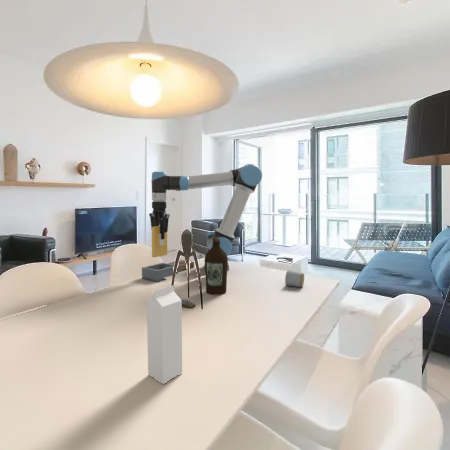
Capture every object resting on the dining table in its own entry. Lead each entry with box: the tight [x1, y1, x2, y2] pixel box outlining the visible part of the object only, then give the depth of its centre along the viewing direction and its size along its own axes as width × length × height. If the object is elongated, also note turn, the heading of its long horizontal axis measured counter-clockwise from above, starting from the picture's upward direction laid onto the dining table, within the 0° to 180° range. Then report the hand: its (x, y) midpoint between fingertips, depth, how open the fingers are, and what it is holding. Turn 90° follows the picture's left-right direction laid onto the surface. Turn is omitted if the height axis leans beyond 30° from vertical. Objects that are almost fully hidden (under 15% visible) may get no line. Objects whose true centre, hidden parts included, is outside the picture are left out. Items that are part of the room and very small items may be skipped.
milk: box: [146, 285, 183, 383], centre depth 74 cm, size 6×6×22 cm
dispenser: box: [166, 259, 195, 273], centre depth 178 cm, size 10×14×6 cm
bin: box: [141, 262, 179, 283], centre depth 164 cm, size 12×15×6 cm
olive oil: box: [204, 238, 229, 296], centre depth 139 cm, size 11×11×25 cm
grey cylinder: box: [284, 269, 305, 288], centre depth 151 cm, size 11×8×8 cm
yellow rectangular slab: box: [151, 225, 168, 258], centre depth 163 cm, size 2×9×16 cm, turn 145°
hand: (159, 245), depth 163 cm, fingers closed on yellow rectangular slab, 2 cm apart
